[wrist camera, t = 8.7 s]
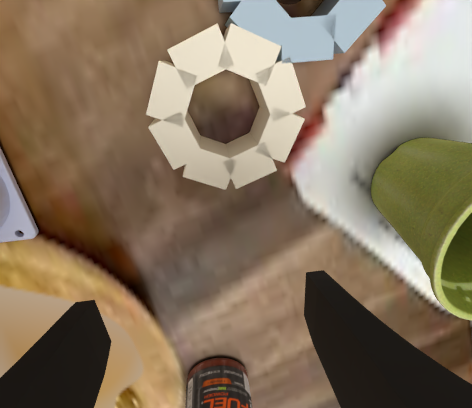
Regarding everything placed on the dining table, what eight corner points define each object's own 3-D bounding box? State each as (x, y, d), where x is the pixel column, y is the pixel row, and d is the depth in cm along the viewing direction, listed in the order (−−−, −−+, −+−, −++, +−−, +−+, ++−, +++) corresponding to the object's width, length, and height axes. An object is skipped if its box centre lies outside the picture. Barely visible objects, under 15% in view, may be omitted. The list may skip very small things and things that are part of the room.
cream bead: (196, 187, 19) (196, 207, 16) (131, 73, 16) (117, 75, 13) (302, 137, 18) (319, 150, 16) (258, 7, 15) (270, -5, 12)
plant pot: (354, 118, 18) (467, 160, 10) (491, 103, 19) (696, 132, 11) (341, 240, 22) (415, 333, 15) (454, 224, 23) (583, 306, 15)
